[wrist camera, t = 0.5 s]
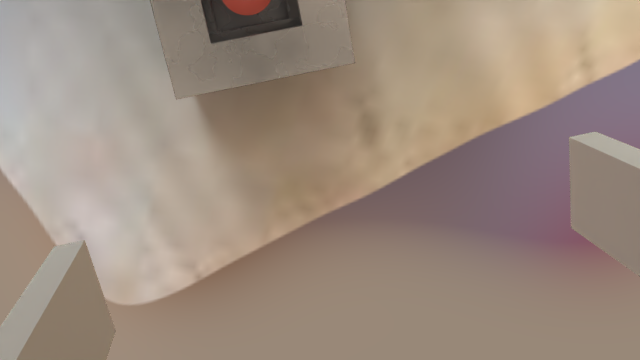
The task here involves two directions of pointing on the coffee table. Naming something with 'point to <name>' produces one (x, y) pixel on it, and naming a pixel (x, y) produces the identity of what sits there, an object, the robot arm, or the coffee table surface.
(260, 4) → the breaker button
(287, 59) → the grey button box
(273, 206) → the coffee table surface
